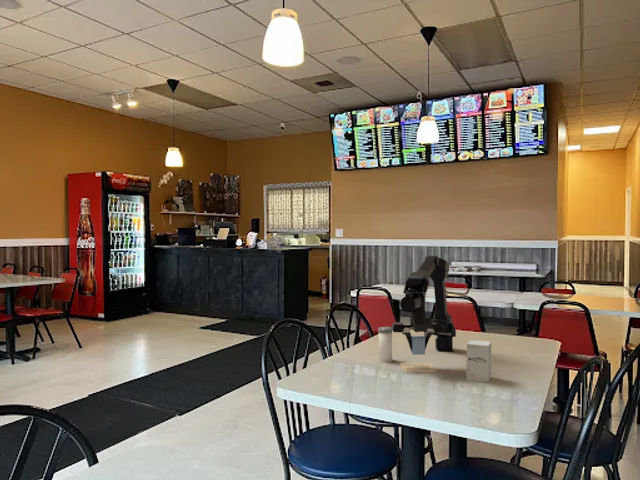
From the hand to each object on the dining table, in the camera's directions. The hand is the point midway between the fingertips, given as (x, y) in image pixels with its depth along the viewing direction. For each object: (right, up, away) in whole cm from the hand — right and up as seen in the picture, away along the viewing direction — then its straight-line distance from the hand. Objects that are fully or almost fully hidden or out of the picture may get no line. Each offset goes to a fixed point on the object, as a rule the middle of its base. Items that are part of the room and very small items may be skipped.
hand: (417, 350), depth 182 cm
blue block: (0, -1, 0) cm, 1 cm away
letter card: (0, -7, 0) cm, 7 cm away
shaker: (-11, -7, +10) cm, 16 cm away
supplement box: (+18, -7, -14) cm, 24 cm away
